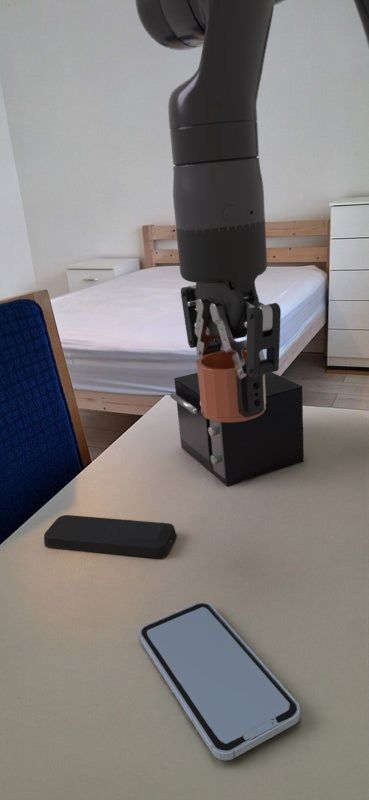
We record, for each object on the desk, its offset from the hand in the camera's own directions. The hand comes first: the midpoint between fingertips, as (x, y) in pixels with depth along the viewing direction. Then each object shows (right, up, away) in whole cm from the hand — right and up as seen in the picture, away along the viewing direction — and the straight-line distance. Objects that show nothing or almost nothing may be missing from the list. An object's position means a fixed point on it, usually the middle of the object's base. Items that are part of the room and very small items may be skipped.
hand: (232, 402), depth 56 cm
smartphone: (-2, -22, -8) cm, 24 cm away
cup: (0, -1, 0) cm, 1 cm away
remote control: (-13, -16, +12) cm, 24 cm away
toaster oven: (+3, -7, +29) cm, 30 cm away
